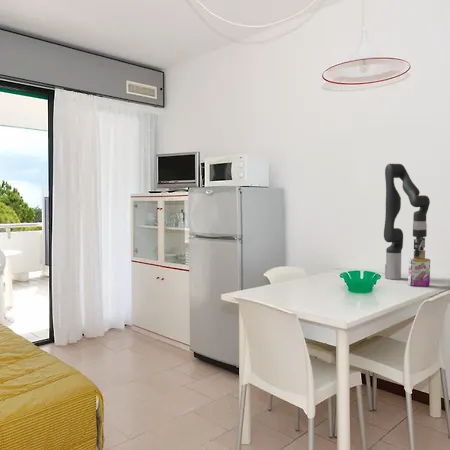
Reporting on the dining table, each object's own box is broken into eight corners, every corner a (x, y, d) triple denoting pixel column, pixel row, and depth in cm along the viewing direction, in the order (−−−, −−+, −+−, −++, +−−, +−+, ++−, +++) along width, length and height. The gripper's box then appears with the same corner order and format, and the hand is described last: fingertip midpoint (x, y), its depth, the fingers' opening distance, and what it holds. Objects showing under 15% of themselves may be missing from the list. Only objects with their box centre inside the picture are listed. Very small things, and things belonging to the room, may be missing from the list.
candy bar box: (410, 286, 251) (411, 259, 250) (407, 284, 256) (408, 258, 255) (430, 286, 250) (430, 259, 249) (427, 284, 255) (427, 258, 254)
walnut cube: (413, 258, 252) (413, 250, 251) (416, 257, 255) (416, 249, 255) (422, 259, 248) (422, 251, 248) (425, 258, 252) (425, 250, 252)
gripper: (416, 228, 259) (416, 254, 260) (409, 229, 248) (409, 256, 249) (429, 228, 254) (429, 255, 255) (422, 229, 243) (422, 257, 244)
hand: (419, 255), depth 252 cm, fingers open, 8 cm apart
